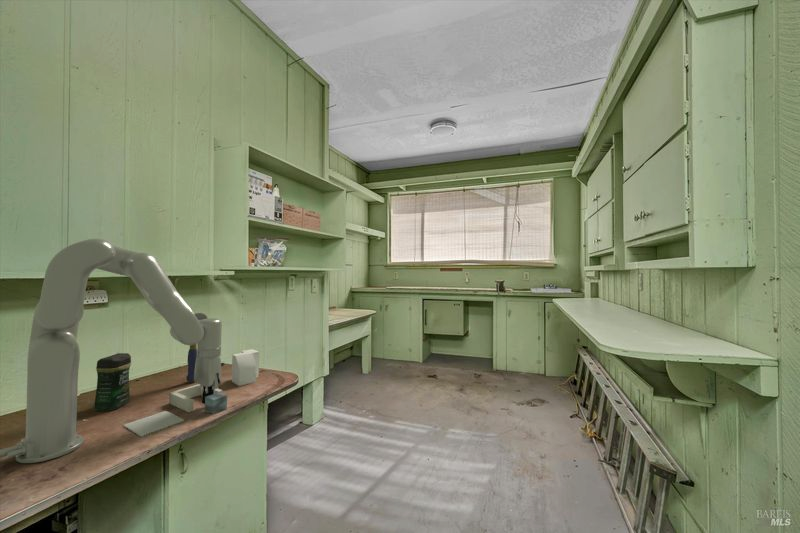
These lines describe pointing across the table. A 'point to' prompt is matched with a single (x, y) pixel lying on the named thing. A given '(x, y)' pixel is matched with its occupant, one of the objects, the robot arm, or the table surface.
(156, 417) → the mat
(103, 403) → the coffee jar
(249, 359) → the corner bracket
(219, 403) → the block
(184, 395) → the bay
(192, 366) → the rubber mallet
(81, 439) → the robot arm
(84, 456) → the table surface
